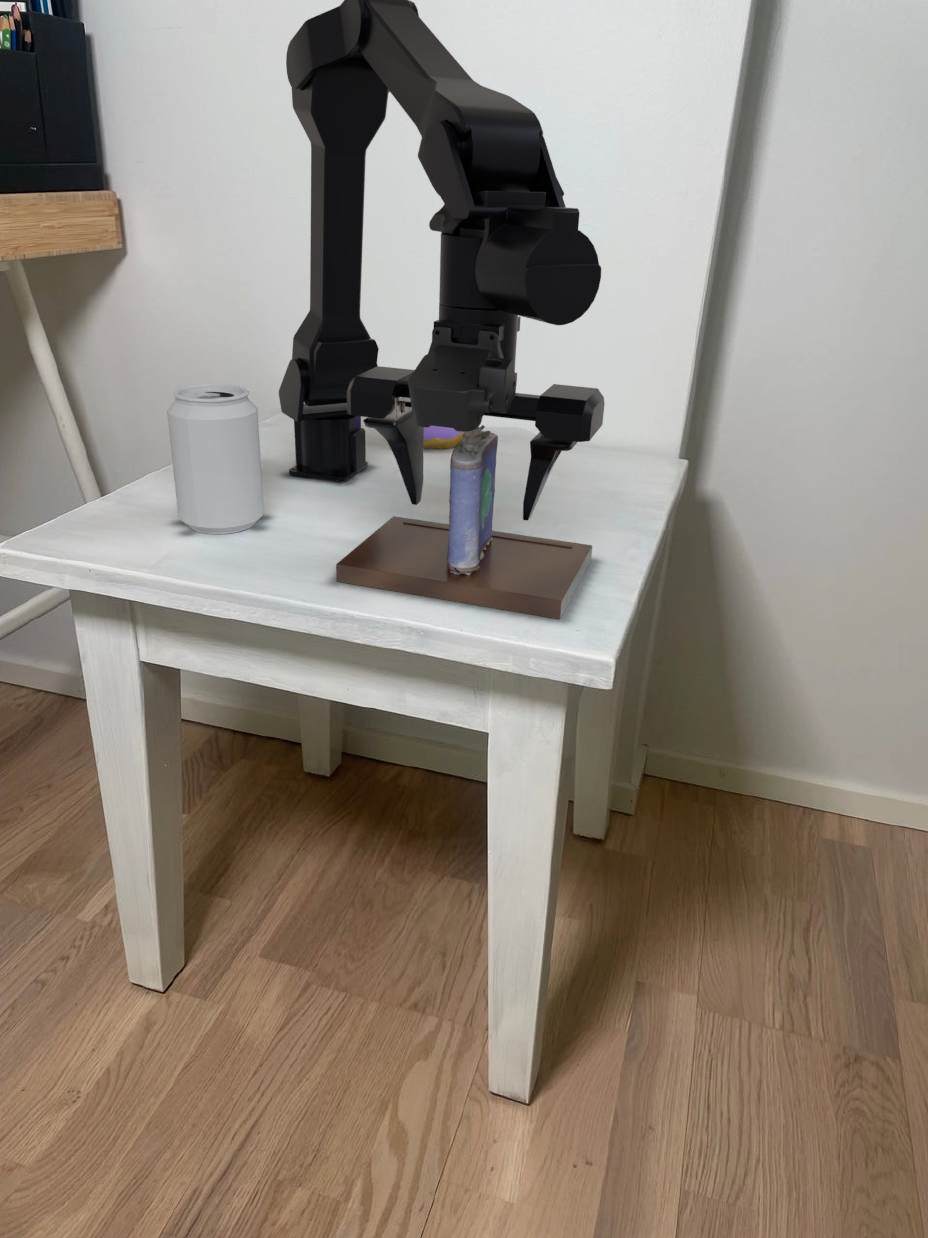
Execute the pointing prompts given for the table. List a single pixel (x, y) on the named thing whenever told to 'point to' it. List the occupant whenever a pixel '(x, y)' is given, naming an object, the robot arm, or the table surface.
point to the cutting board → (504, 580)
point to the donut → (441, 437)
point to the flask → (471, 499)
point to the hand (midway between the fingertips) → (470, 510)
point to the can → (216, 458)
